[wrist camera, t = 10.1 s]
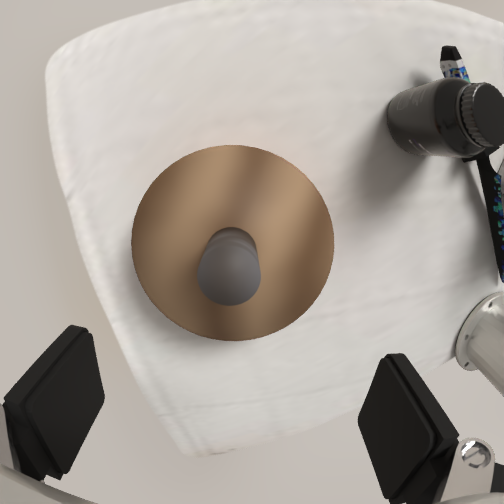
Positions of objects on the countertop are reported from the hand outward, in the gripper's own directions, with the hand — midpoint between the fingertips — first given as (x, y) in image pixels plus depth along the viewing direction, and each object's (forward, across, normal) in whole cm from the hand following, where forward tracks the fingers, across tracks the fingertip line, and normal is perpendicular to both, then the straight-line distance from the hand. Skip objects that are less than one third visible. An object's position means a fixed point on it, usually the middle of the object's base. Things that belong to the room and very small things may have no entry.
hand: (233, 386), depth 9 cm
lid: (+15, +1, 0) cm, 15 cm away
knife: (+22, -26, -9) cm, 35 cm away
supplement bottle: (+22, -16, -13) cm, 30 cm away
